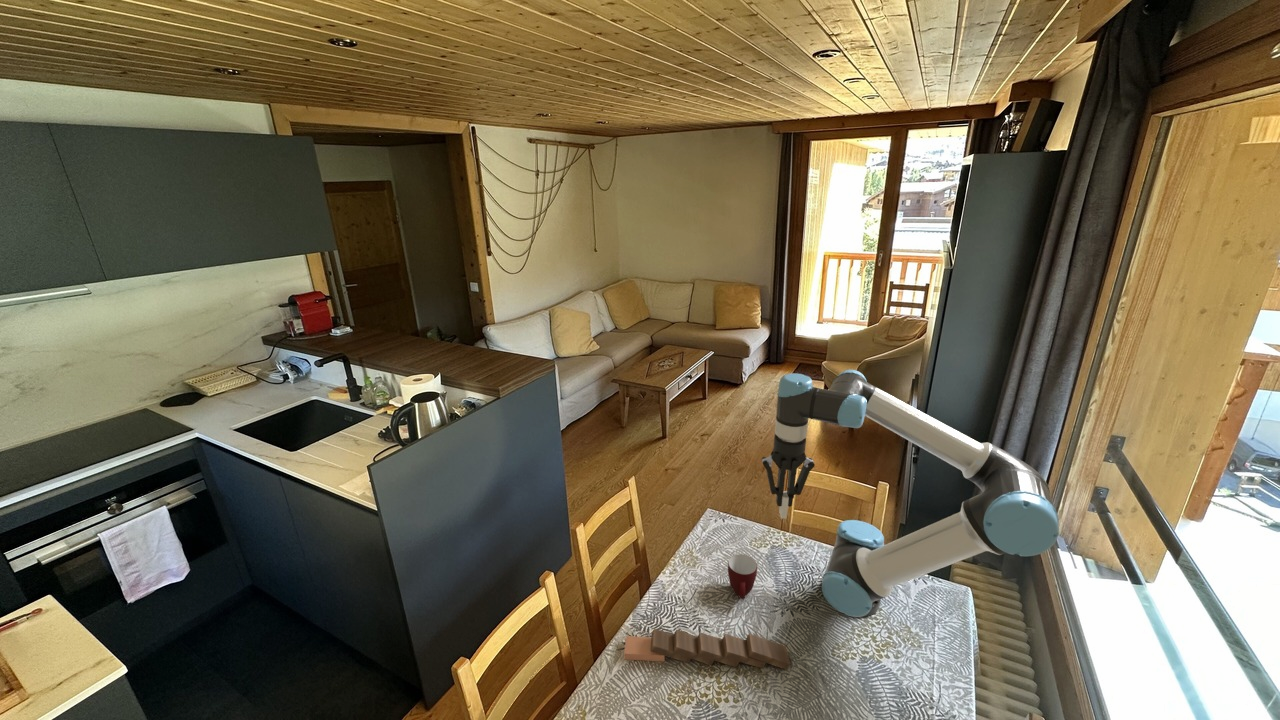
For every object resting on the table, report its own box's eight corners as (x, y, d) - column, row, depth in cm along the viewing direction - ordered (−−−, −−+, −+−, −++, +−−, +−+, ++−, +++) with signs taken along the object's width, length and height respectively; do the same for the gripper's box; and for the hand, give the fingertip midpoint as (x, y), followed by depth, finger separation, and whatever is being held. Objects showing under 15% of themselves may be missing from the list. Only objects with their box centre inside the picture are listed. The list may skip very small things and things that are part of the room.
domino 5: (762, 644, 124) (725, 633, 123) (766, 662, 119) (727, 651, 118) (758, 650, 125) (721, 639, 124) (762, 668, 120) (724, 657, 119)
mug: (759, 610, 136) (761, 581, 133) (729, 609, 136) (731, 581, 133) (752, 581, 146) (754, 554, 143) (725, 580, 146) (726, 553, 143)
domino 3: (713, 642, 125) (676, 629, 124) (714, 660, 120) (676, 646, 120) (709, 647, 126) (673, 634, 125) (711, 665, 121) (673, 652, 120)
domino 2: (691, 639, 126) (654, 628, 125) (691, 657, 121) (653, 645, 120) (688, 645, 126) (651, 634, 126) (688, 663, 122) (650, 651, 121)
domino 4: (736, 643, 124) (699, 632, 124) (739, 661, 120) (701, 649, 119) (733, 649, 125) (696, 637, 124) (736, 667, 120) (698, 655, 120)
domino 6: (786, 646, 123) (749, 633, 123) (790, 664, 119) (751, 651, 118) (782, 651, 124) (745, 639, 124) (786, 670, 119) (748, 656, 119)
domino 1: (665, 638, 126) (626, 636, 127) (664, 655, 121) (624, 653, 122) (665, 644, 127) (626, 642, 127) (664, 661, 122) (624, 659, 123)
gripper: (813, 428, 124) (805, 507, 132) (761, 427, 125) (755, 505, 133) (821, 443, 117) (811, 525, 125) (765, 442, 118) (759, 523, 126)
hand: (782, 515), depth 129 cm, fingers closed
